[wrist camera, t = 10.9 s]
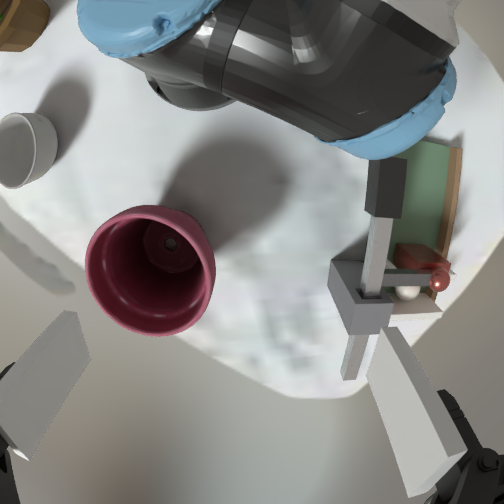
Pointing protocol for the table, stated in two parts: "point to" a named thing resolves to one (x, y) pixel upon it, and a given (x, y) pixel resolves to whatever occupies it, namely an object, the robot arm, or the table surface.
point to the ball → (407, 292)
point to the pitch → (405, 241)
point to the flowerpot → (21, 23)
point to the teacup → (25, 148)
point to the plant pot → (151, 270)
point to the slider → (405, 257)
